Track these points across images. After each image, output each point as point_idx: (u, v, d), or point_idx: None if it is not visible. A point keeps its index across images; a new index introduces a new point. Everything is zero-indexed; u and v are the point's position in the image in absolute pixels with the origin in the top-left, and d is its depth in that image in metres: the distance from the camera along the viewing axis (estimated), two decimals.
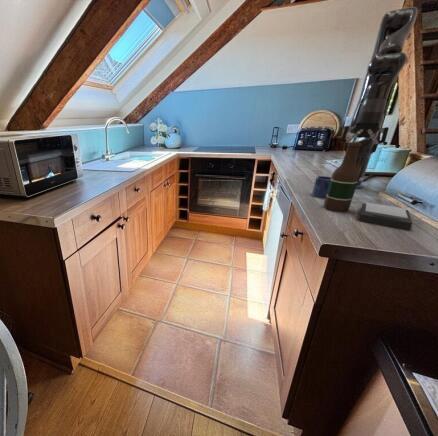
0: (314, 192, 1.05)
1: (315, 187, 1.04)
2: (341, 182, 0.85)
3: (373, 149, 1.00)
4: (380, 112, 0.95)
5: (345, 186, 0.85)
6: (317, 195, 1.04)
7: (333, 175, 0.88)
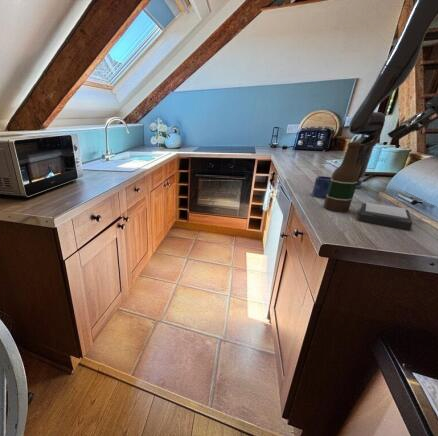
0: (314, 192, 1.05)
1: (315, 187, 1.04)
2: (341, 182, 0.85)
3: None
4: None
5: (345, 186, 0.85)
6: (317, 195, 1.04)
7: (333, 175, 0.88)
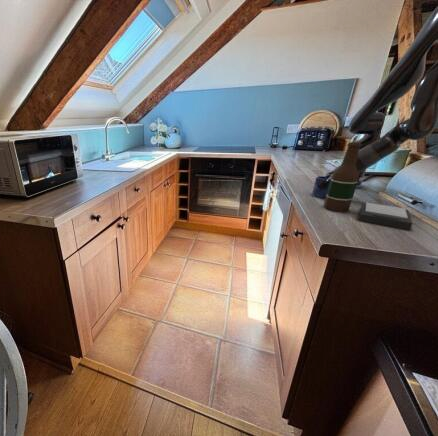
0: (314, 192, 1.05)
1: (315, 187, 1.04)
2: (341, 182, 0.85)
3: None
4: None
5: (345, 186, 0.85)
6: (317, 195, 1.04)
7: (333, 175, 0.88)
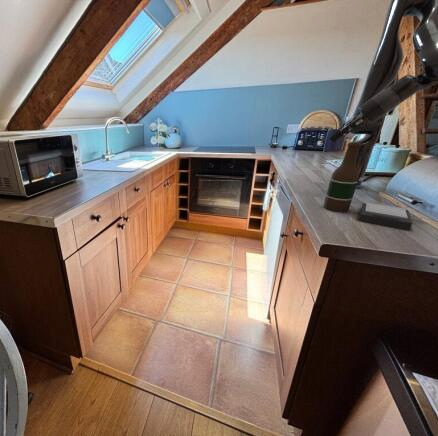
0: (326, 146, 0.98)
1: (327, 140, 0.97)
2: (341, 182, 0.85)
3: None
4: None
5: (345, 186, 0.85)
6: (329, 149, 0.97)
7: (333, 175, 0.88)
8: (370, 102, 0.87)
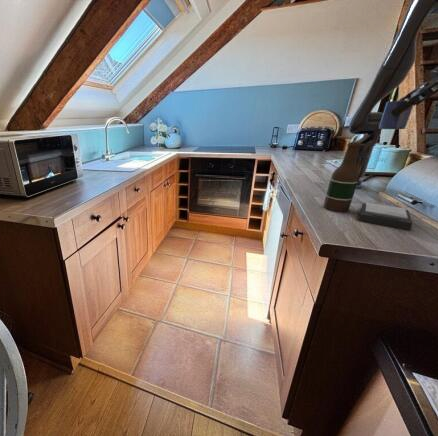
0: (384, 123, 0.77)
1: (386, 115, 0.76)
2: (341, 182, 0.85)
3: None
4: None
5: (345, 186, 0.85)
6: (389, 126, 0.76)
7: (333, 175, 0.88)
8: None
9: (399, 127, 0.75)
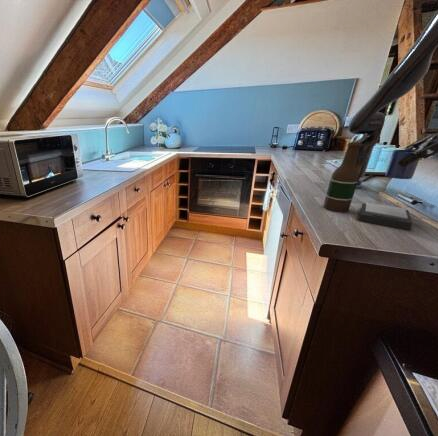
0: (390, 172, 0.76)
1: (393, 164, 0.76)
2: (341, 182, 0.85)
3: None
4: None
5: (345, 186, 0.85)
6: (396, 175, 0.75)
7: (333, 175, 0.88)
8: None
9: (406, 177, 0.74)
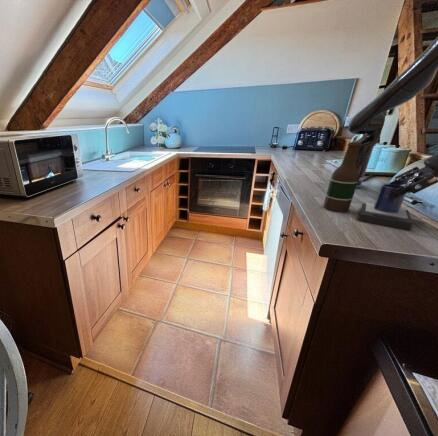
0: (378, 205, 0.81)
1: (380, 198, 0.80)
2: (341, 182, 0.85)
3: None
4: None
5: (345, 186, 0.85)
6: (383, 209, 0.80)
7: (333, 175, 0.88)
8: None
9: (393, 211, 0.78)
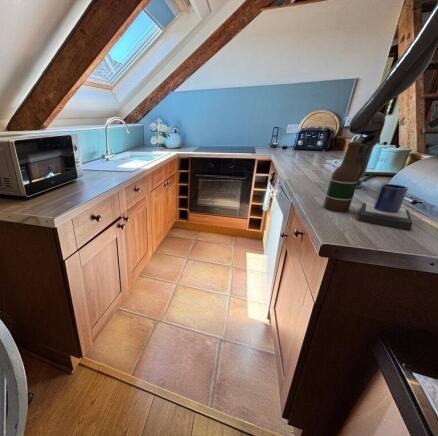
0: (378, 205, 0.81)
1: (380, 198, 0.80)
2: (341, 182, 0.85)
3: None
4: None
5: (345, 186, 0.85)
6: (383, 209, 0.80)
7: (333, 175, 0.88)
8: None
9: (393, 211, 0.78)
